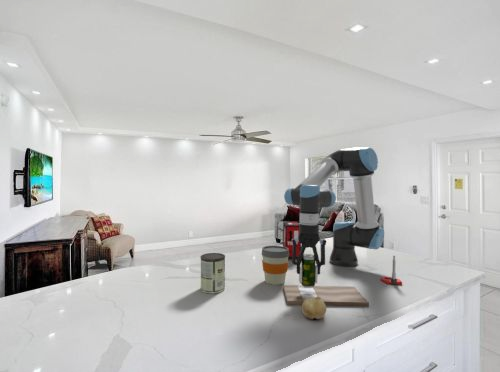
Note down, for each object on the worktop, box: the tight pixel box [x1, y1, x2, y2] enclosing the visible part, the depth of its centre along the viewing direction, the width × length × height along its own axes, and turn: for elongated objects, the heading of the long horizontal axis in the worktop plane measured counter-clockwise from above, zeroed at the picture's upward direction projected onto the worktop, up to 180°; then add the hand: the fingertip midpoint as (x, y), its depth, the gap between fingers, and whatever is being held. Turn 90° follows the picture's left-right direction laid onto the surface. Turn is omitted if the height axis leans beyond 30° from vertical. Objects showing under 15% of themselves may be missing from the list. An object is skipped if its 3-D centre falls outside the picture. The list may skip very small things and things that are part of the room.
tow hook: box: [380, 255, 403, 286], centre depth 135 cm, size 8×13×9 cm
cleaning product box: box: [282, 220, 302, 261], centre depth 178 cm, size 16×9×20 cm, turn 179°
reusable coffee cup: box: [261, 245, 289, 286], centre depth 132 cm, size 13×13×15 cm
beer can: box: [300, 253, 316, 288], centre depth 115 cm, size 5×5×12 cm
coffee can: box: [200, 252, 226, 294], centre depth 122 cm, size 10×10×14 cm
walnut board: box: [282, 284, 370, 307], centre depth 115 cm, size 16×30×2 cm, turn 89°
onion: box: [301, 294, 327, 321], centre depth 98 cm, size 8×8×7 cm
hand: (308, 281), depth 115 cm, fingers closed on beer can, 5 cm apart
